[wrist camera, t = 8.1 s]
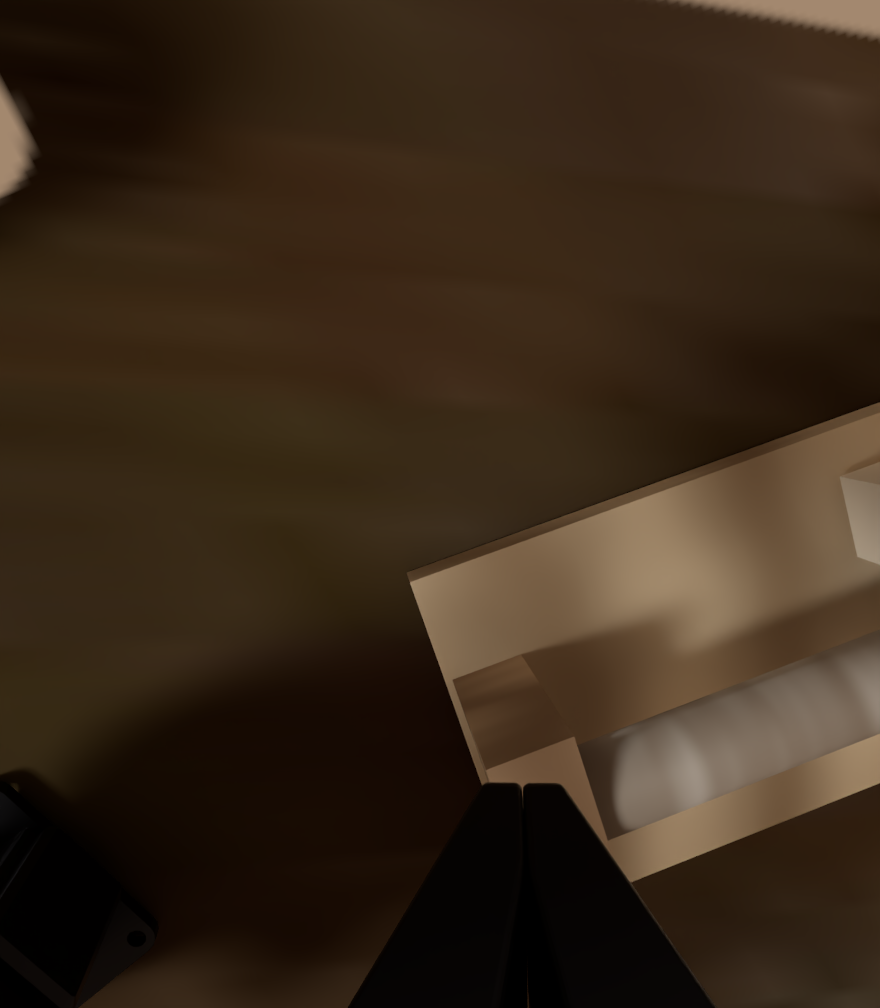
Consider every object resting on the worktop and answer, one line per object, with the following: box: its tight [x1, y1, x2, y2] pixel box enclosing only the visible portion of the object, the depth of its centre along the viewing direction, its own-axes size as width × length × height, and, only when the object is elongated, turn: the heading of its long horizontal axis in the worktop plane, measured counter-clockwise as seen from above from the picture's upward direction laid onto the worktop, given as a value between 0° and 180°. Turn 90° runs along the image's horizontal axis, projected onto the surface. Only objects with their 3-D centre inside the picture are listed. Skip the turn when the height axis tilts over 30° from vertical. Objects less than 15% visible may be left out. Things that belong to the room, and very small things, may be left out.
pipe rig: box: [407, 402, 880, 882], centre depth 20 cm, size 18×11×6 cm, turn 108°
